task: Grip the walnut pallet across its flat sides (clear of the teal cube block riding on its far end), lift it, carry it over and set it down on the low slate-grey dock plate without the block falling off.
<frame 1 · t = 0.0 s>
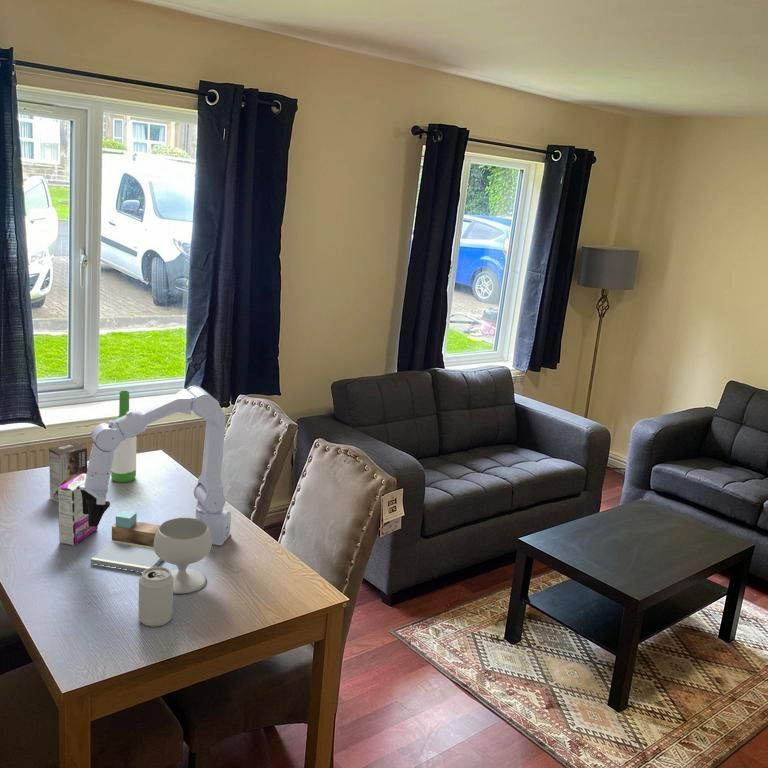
hand: (90, 519, 190), 11 cm above the table, tool pointing down, fingers open, 7 cm apart
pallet: (140, 543, 202), on the table
wine bottle: (123, 479, 243), on the table
candy bar box: (78, 536, 203), on the table
teal cube block: (126, 524, 202), point 5 cm above the table
can: (155, 620, 168), on the table
chalice: (181, 583, 185), on the table
coffee box: (68, 497, 226), on the table
dock: (130, 559, 193), on the table
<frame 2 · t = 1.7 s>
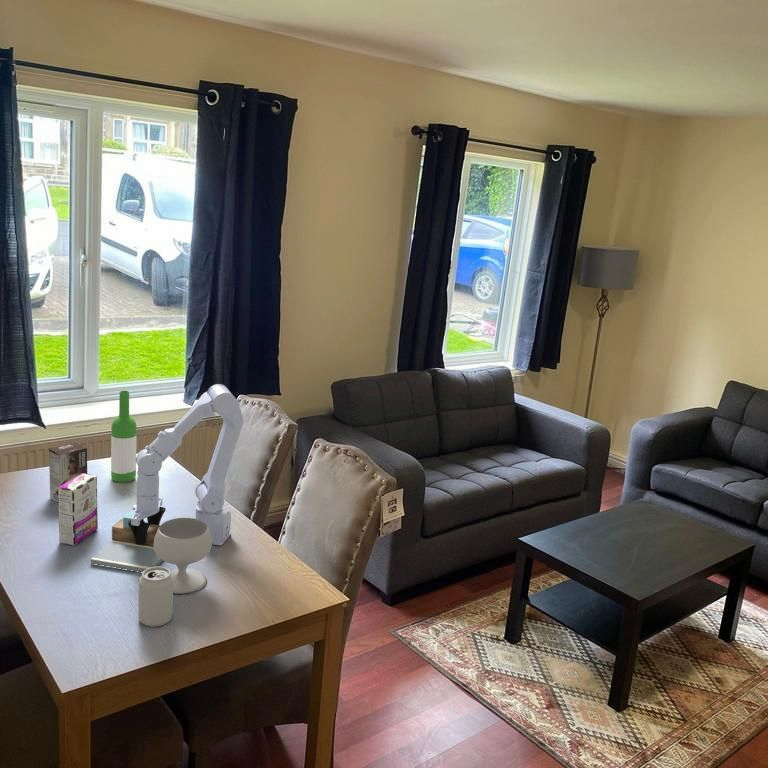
hand: (146, 538, 202), 1 cm above the table, tool pointing down, fingers open, 7 cm apart
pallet: (140, 543, 202), on the table, touching teal cube block
teal cube block: (133, 525, 201), point 5 cm above the table, touching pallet
everything else where it was.
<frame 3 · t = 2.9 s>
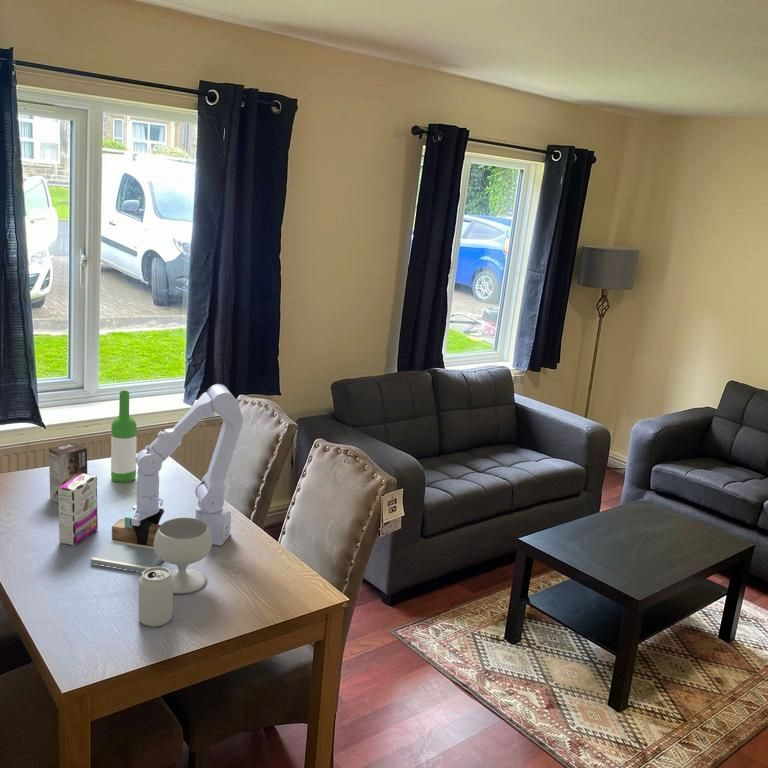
hand: (147, 539, 202), 1 cm above the table, tool pointing down, fingers closed on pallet, 5 cm apart
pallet: (140, 542, 202), on the table, touching teal cube block, gripper
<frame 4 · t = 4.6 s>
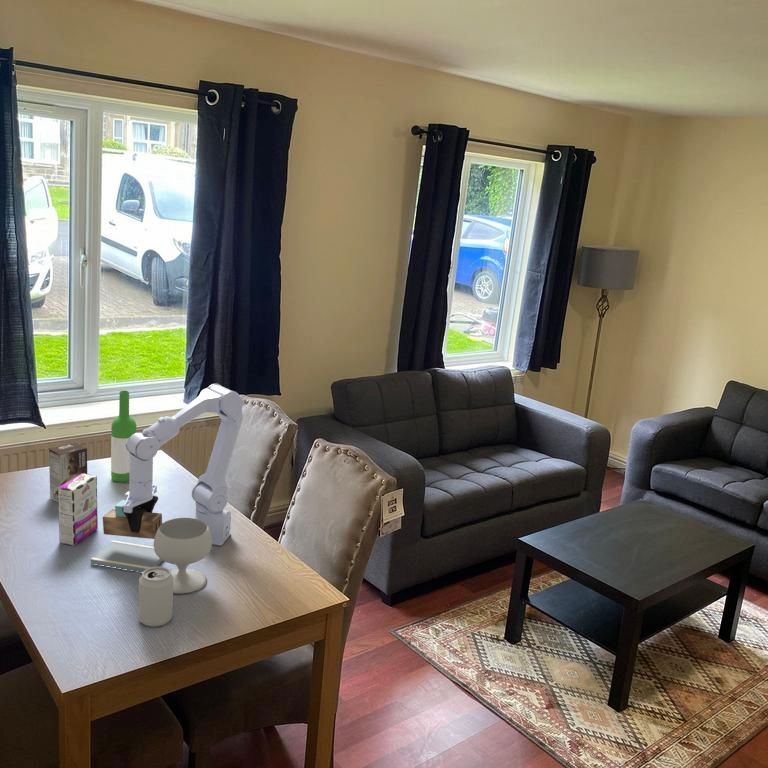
hand: (140, 527, 193), 8 cm above the table, tool pointing down, fingers closed on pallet, 5 cm apart
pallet: (133, 532, 194), point 7 cm above the table, touching teal cube block, gripper
teal cube block: (126, 514, 193), point 11 cm above the table, touching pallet
everything else where it was.
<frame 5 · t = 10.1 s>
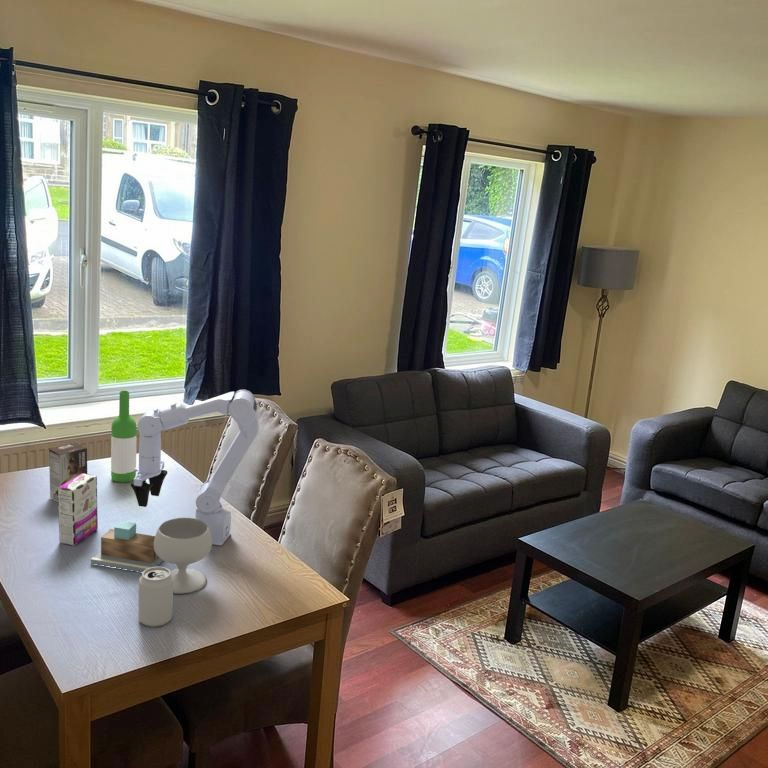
hand: (148, 500, 205), 10 cm above the table, tool pointing down, fingers open, 7 cm apart
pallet: (131, 554, 193), point 1 cm above the table, touching teal cube block, dock
teal cube block: (125, 535, 192), point 6 cm above the table, touching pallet
everything else where it was.
at the end: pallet inside the target area on the dock (0.1 cm from its centre), point 1.5 cm above the dock's base; teal cube block inside the target area on the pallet (1.8 cm from its centre), point 5.0 cm above the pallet's base; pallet tilted 0° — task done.
